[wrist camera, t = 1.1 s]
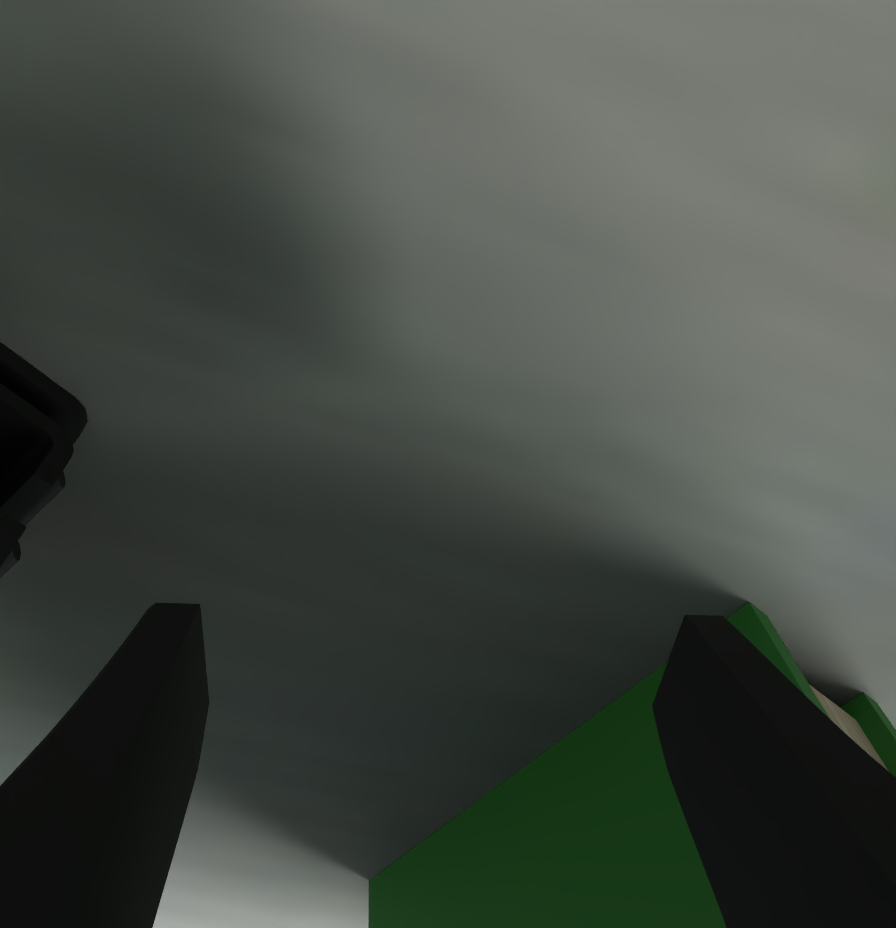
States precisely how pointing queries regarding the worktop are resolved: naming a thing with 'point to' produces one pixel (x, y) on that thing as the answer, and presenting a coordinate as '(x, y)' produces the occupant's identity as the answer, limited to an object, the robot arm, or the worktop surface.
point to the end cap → (31, 446)
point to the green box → (589, 827)
